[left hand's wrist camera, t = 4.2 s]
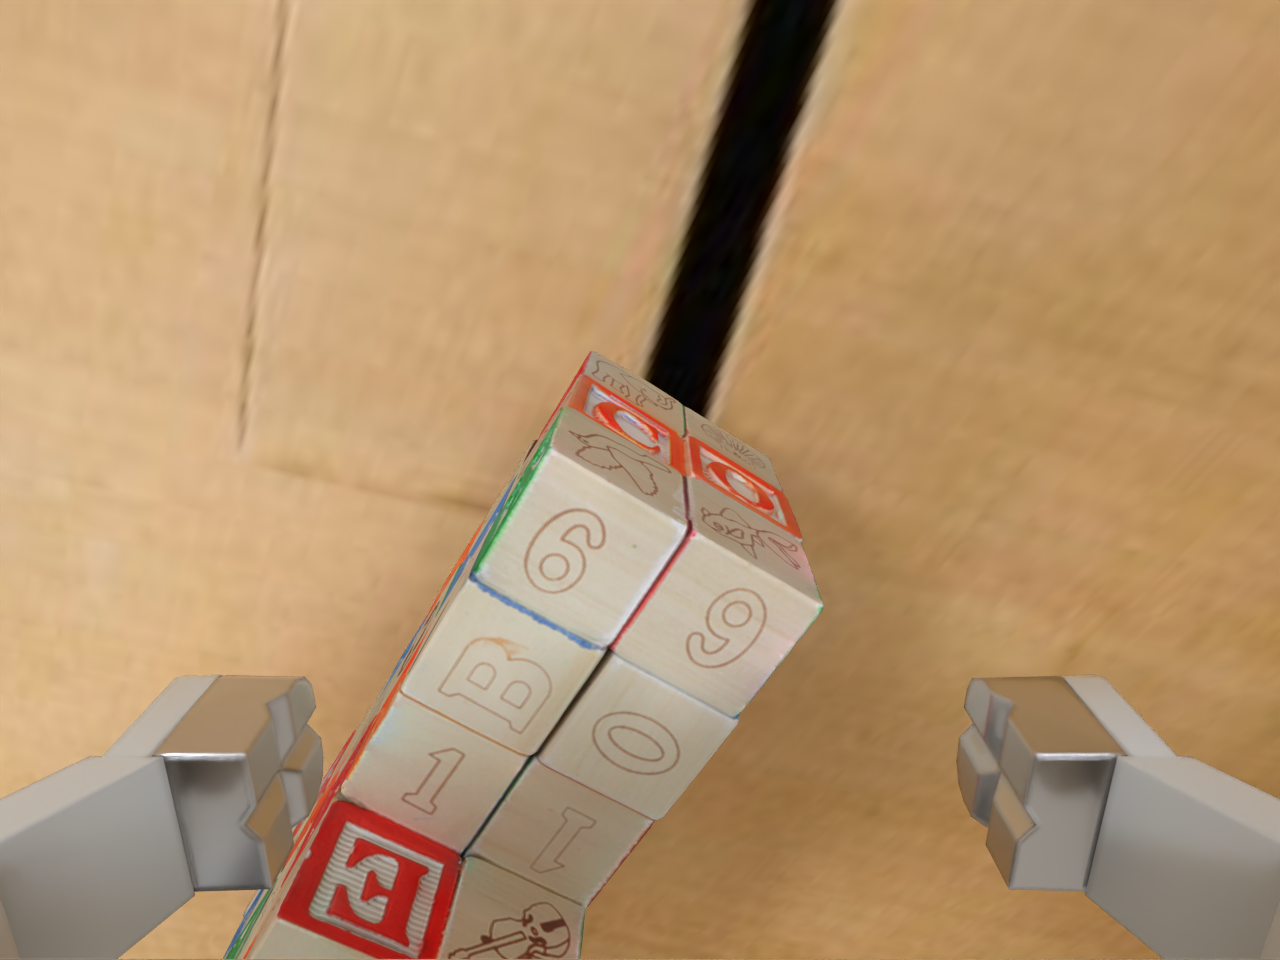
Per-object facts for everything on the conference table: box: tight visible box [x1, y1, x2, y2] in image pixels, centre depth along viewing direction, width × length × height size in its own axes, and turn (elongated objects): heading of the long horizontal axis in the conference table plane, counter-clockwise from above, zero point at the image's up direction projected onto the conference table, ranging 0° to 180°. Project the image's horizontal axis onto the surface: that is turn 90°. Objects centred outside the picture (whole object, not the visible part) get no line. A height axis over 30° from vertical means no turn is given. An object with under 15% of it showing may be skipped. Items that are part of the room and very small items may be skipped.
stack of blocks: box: [223, 351, 824, 959], centre depth 22 cm, size 21×6×12 cm, turn 148°
